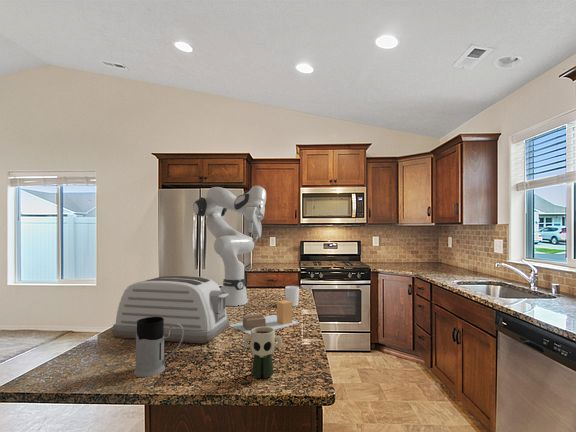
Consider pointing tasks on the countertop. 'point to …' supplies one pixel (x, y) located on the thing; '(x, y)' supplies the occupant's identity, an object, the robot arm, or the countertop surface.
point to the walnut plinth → (253, 321)
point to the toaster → (174, 308)
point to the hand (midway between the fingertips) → (252, 237)
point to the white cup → (292, 294)
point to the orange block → (284, 312)
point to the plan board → (270, 322)
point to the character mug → (262, 350)
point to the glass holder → (151, 346)
